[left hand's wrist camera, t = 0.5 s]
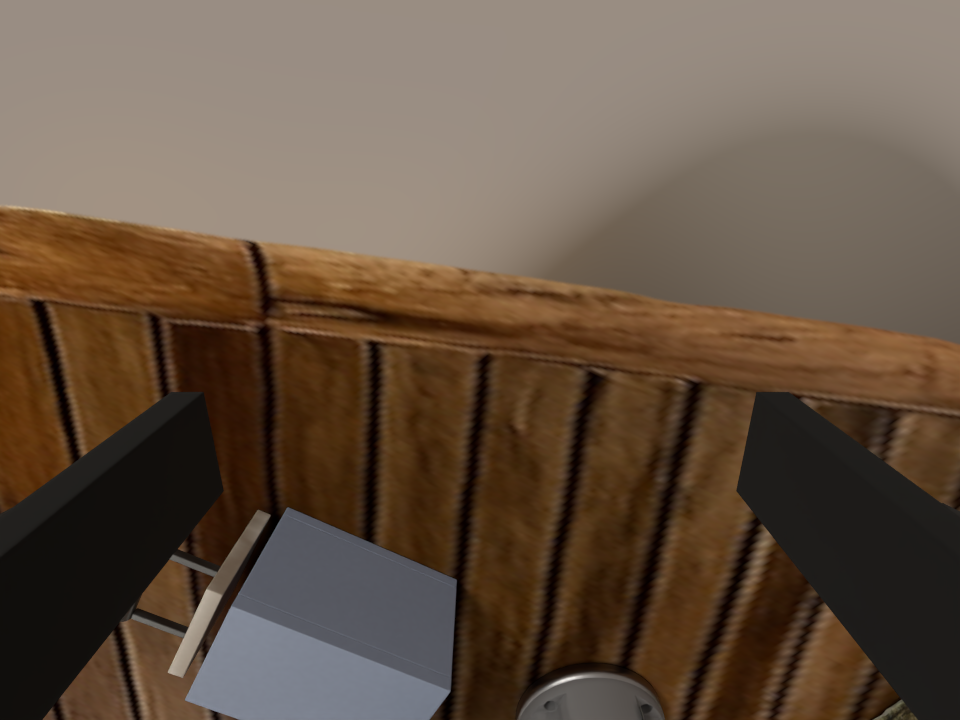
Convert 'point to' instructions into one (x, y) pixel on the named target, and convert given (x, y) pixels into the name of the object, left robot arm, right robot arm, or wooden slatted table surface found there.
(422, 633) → the cabinet
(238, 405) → the wooden slatted table surface
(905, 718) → the fossil
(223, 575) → the drawer
